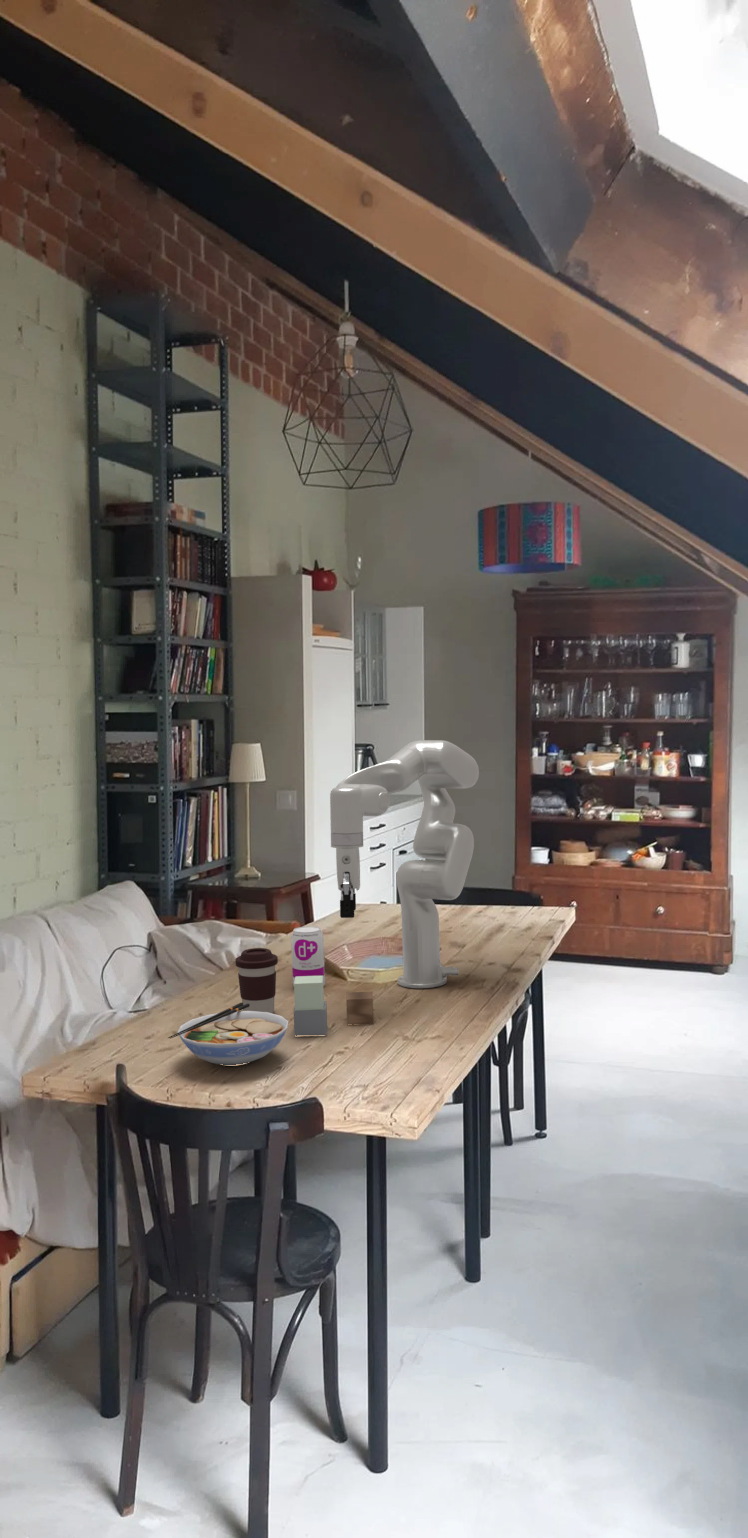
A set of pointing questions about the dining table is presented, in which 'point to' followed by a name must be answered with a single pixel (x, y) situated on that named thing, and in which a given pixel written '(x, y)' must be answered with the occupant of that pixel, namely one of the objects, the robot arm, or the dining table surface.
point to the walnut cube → (359, 1008)
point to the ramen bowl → (233, 1035)
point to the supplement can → (307, 952)
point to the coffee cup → (257, 979)
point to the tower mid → (309, 993)
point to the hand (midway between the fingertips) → (348, 913)
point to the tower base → (310, 1021)
